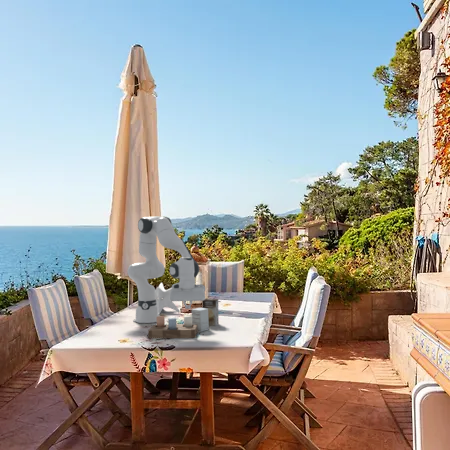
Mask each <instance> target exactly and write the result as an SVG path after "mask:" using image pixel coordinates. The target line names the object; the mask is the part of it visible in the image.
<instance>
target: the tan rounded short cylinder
mask: <svg viewBox="0 0 450 450" xmlns="http://www.w3.org/2000/svg"><path fill="white" fill-rule="evenodd" d="M165 322H166V319H165V316H164V315H159V316H157V322H156V325H157V327H165V325H166V324H165Z"/></svg>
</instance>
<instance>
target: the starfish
mask: <svg viewBox="0 0 450 450" xmlns="http://www.w3.org/2000/svg"><path fill="white" fill-rule="evenodd" d="M171 290H172V287H170V288H168V289H165V287H164V284H163V282H160V284H159V285H158V286H156V288H155V299H156V306H157V308H158V314H159V315H161V313H162V310H163V309H164V308H169V309H171V310H173V311H176V312H180V309H179V308H178V307H177V305H176V304H175V303H174V301H171V300H170V293H171Z"/></svg>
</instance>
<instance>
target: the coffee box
mask: <svg viewBox="0 0 450 450" xmlns="http://www.w3.org/2000/svg"><path fill="white" fill-rule="evenodd" d="M201 302H202V303H201V304H202V306H201V308H207V309H208V321H209V327H216V326H218V325H219V323H220V322H219V321H220V320H219V319H220V318H219V316H220V315H219V299H218V298H205V300H204V301H201Z"/></svg>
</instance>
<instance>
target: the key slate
mask: <svg viewBox="0 0 450 450" xmlns="http://www.w3.org/2000/svg"><path fill="white" fill-rule="evenodd" d="M167 323H168V324H167V325H168V330H177V325H178V324H177V318H176V317H172V318H171V317H170V318H167Z"/></svg>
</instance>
